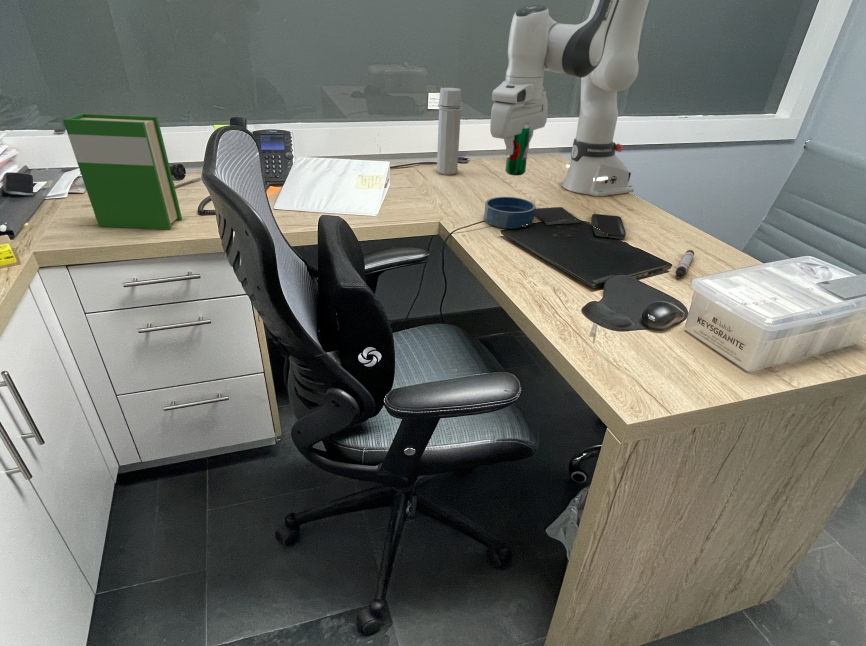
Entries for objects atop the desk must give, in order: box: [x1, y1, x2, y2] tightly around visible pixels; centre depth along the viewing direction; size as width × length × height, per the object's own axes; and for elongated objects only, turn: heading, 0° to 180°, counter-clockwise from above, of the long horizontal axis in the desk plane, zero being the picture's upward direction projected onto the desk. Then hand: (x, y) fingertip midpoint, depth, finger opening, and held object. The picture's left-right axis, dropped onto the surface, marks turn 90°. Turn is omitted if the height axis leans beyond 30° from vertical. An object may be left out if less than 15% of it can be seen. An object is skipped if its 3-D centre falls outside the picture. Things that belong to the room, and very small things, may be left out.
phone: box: [590, 213, 627, 240], centre depth 142 cm, size 8×1×15 cm
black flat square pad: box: [534, 206, 581, 224], centre depth 149 cm, size 10×12×1 cm
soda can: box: [505, 123, 530, 176], centre depth 134 cm, size 5×5×12 cm
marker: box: [675, 249, 695, 278], centre depth 122 cm, size 15×2×2 cm, turn 150°
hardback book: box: [62, 112, 183, 230], centre depth 129 cm, size 18×7×24 cm, turn 88°
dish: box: [483, 196, 537, 230], centre depth 144 cm, size 13×13×4 cm
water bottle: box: [436, 87, 464, 176], centre depth 174 cm, size 9×8×25 cm
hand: (517, 152), depth 135 cm, fingers closed on soda can, 5 cm apart
